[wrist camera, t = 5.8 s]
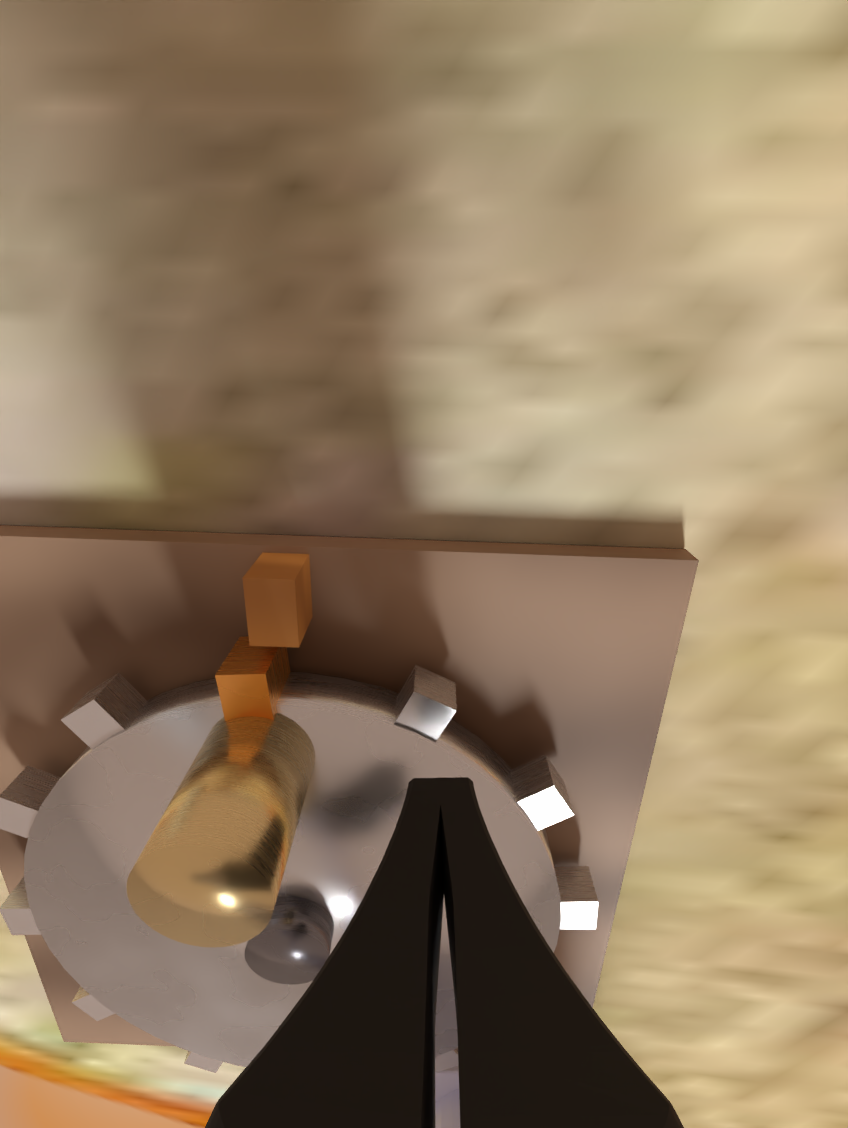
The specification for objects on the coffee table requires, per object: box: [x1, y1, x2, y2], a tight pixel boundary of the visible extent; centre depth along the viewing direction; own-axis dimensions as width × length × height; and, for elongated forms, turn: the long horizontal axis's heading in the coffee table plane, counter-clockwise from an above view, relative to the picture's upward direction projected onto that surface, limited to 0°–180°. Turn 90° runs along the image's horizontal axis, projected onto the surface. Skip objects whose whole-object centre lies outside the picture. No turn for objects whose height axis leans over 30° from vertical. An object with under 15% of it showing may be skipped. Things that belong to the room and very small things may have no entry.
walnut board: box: [0, 525, 699, 1046], centre depth 18 cm, size 22×21×2 cm
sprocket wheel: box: [0, 636, 598, 1073], centre depth 16 cm, size 18×18×6 cm
